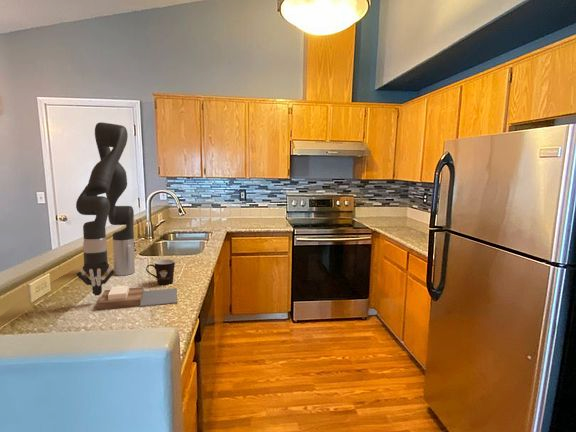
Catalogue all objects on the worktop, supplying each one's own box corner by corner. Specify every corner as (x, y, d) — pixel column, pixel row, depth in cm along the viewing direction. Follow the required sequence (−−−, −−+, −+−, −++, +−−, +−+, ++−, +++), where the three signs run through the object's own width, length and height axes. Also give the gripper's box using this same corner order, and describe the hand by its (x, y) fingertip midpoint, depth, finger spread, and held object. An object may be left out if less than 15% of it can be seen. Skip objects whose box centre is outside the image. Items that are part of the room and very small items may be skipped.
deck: (105, 296, 128) (105, 290, 128) (143, 292, 133) (143, 287, 133) (97, 310, 115) (97, 303, 115) (140, 305, 120) (140, 299, 120)
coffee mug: (179, 281, 149) (178, 260, 148) (167, 287, 141) (167, 265, 139) (157, 278, 152) (157, 257, 151) (145, 284, 144) (144, 262, 142)
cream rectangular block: (112, 291, 127) (112, 286, 126) (129, 290, 129) (129, 285, 129) (108, 300, 118) (107, 294, 118) (126, 298, 120) (126, 293, 120)
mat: (143, 292, 134) (143, 290, 134) (176, 289, 138) (176, 288, 138) (140, 306, 119) (140, 305, 119) (177, 303, 123) (177, 301, 123)
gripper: (117, 246, 125) (118, 289, 127) (77, 248, 120) (79, 293, 122) (113, 251, 118) (115, 296, 120) (71, 253, 113) (74, 300, 115)
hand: (97, 294), depth 121 cm, fingers closed
